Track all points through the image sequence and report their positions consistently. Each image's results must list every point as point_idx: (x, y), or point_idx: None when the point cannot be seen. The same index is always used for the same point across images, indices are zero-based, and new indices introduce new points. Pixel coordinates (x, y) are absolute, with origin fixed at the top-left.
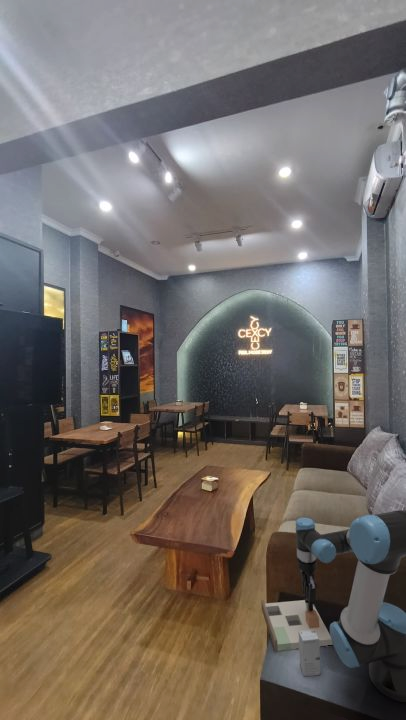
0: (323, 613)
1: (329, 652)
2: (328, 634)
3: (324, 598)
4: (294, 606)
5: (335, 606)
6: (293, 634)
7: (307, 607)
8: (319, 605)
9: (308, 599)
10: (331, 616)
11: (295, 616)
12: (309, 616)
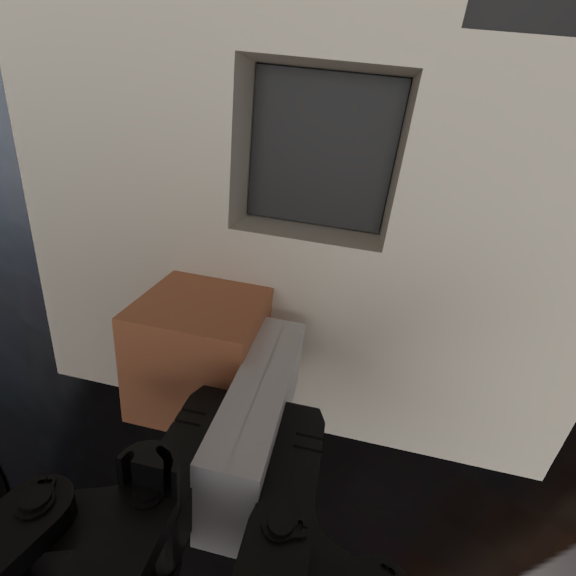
0: (387, 459)
1: (40, 297)
2: (101, 374)
3: (537, 552)
4: (534, 280)
5: (421, 554)
6: (103, 51)
7: (227, 400)
8: (482, 484)
9: (3, 564)
10: (340, 483)
11: (388, 217)
12: (136, 337)
